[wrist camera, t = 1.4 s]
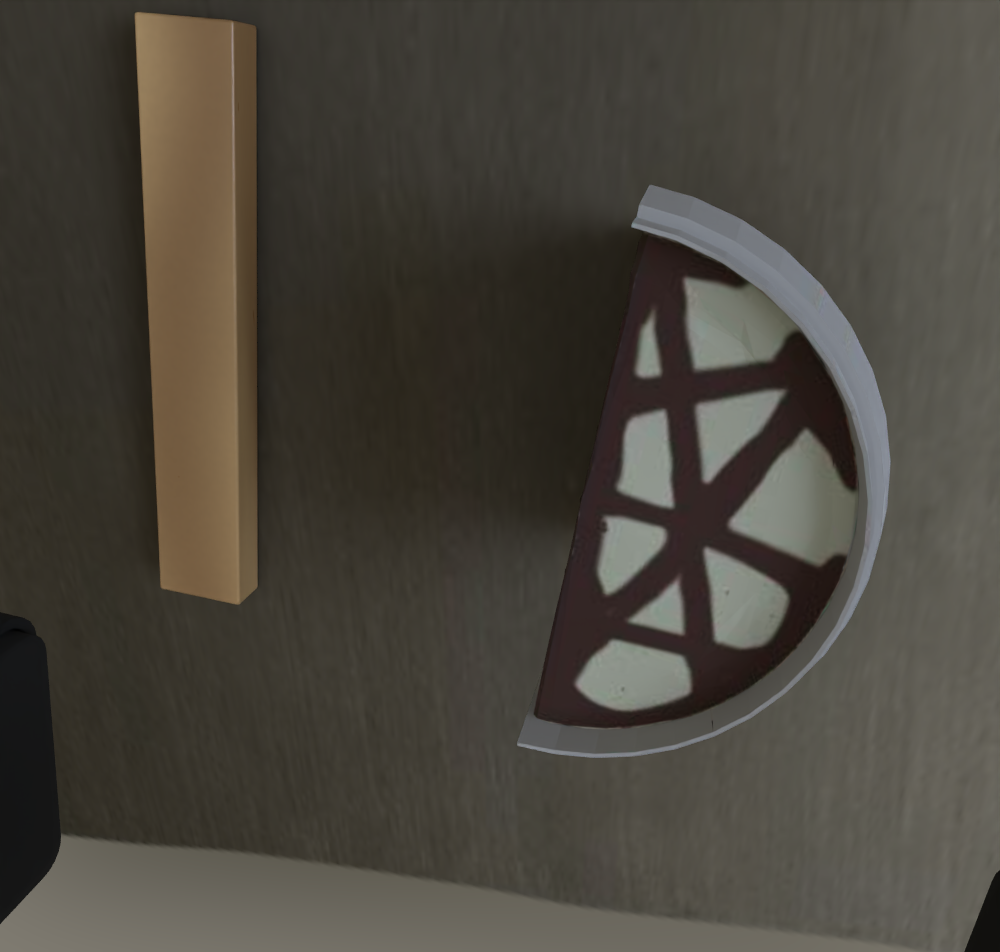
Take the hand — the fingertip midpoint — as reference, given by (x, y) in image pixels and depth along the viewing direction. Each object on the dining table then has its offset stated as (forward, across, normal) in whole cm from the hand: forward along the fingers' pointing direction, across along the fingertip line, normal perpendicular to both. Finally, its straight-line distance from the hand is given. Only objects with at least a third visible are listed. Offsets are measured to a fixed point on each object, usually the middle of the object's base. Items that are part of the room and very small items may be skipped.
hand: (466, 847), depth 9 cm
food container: (+20, -3, +1) cm, 20 cm away
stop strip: (+20, +14, +1) cm, 24 cm away
